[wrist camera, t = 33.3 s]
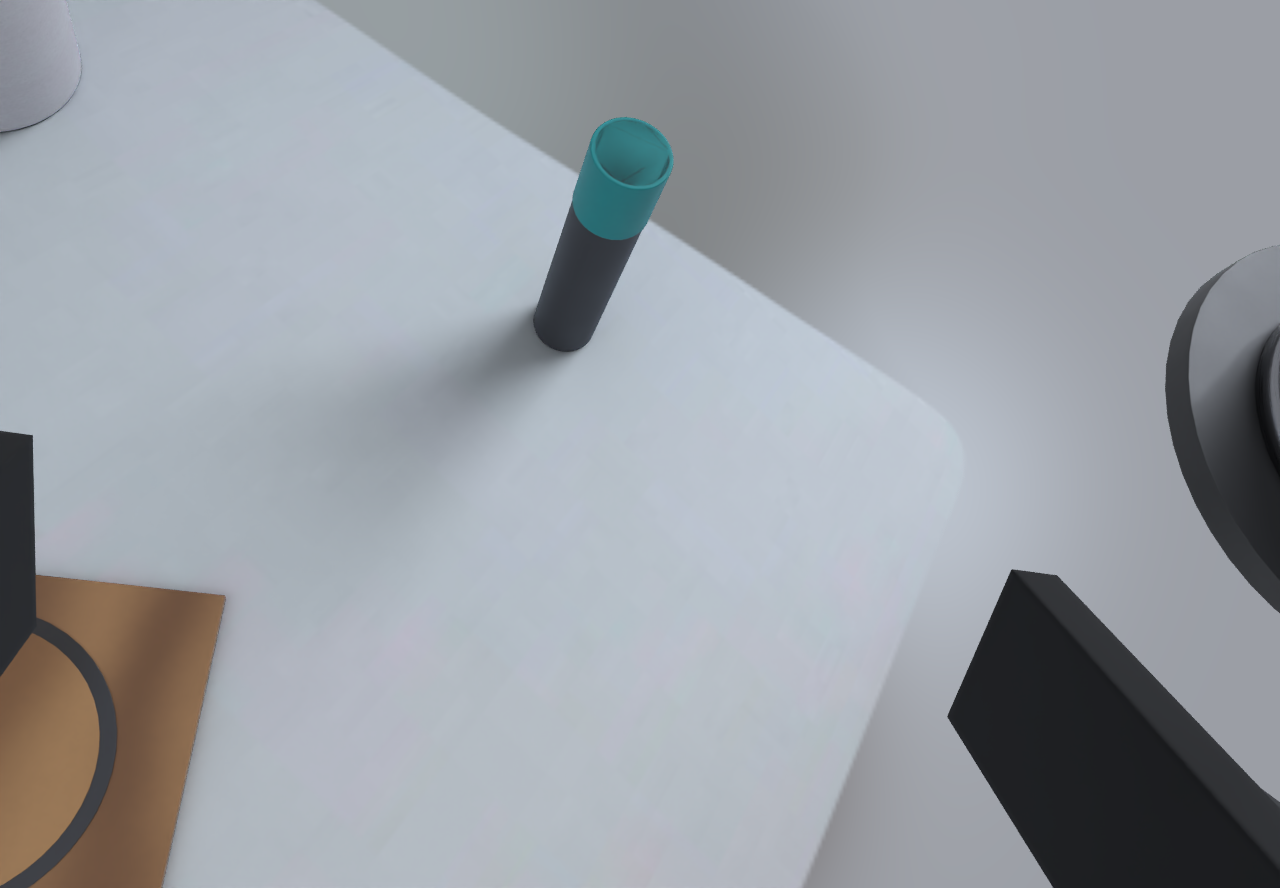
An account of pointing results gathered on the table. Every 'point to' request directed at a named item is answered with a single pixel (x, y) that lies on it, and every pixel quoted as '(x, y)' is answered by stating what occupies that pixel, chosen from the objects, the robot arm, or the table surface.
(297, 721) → the table surface
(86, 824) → the sheet
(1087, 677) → the robot arm
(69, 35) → the coffee cup
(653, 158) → the marker
